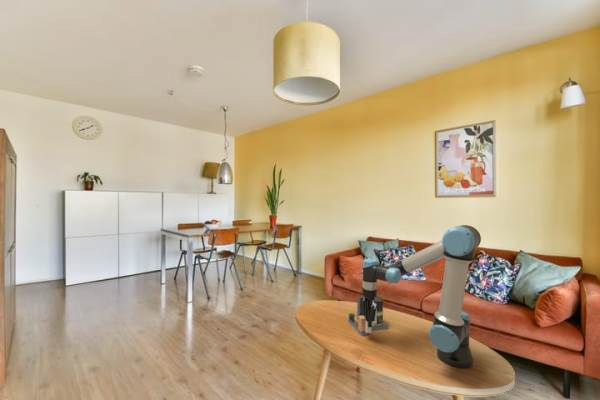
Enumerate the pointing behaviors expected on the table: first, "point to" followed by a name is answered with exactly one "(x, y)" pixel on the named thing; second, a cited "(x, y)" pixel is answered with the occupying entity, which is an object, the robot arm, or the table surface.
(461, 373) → the table surface
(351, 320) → the rail
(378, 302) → the coffee can
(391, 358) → the table surface
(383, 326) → the tray
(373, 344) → the table surface
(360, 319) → the lever knob
